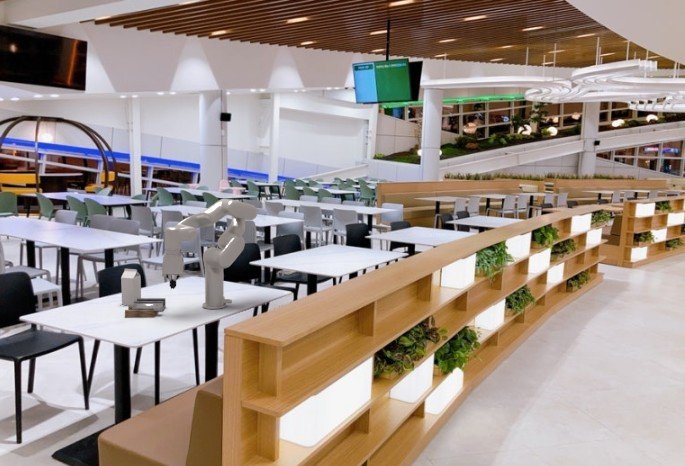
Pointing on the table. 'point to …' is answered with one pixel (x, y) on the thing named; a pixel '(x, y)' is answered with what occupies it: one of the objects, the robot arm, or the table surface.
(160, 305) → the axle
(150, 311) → the brown piece
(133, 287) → the milk carton
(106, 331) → the table surface
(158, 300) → the v block
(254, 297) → the table surface
